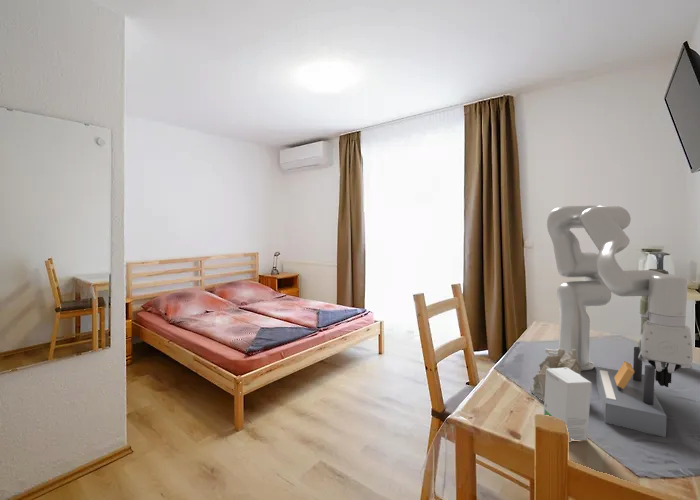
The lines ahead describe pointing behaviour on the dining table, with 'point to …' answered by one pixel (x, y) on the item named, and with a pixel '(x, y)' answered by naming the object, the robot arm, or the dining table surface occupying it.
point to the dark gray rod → (649, 384)
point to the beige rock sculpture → (554, 362)
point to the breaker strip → (629, 404)
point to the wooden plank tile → (623, 375)
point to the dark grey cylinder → (637, 366)
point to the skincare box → (568, 400)
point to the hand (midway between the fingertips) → (662, 384)
